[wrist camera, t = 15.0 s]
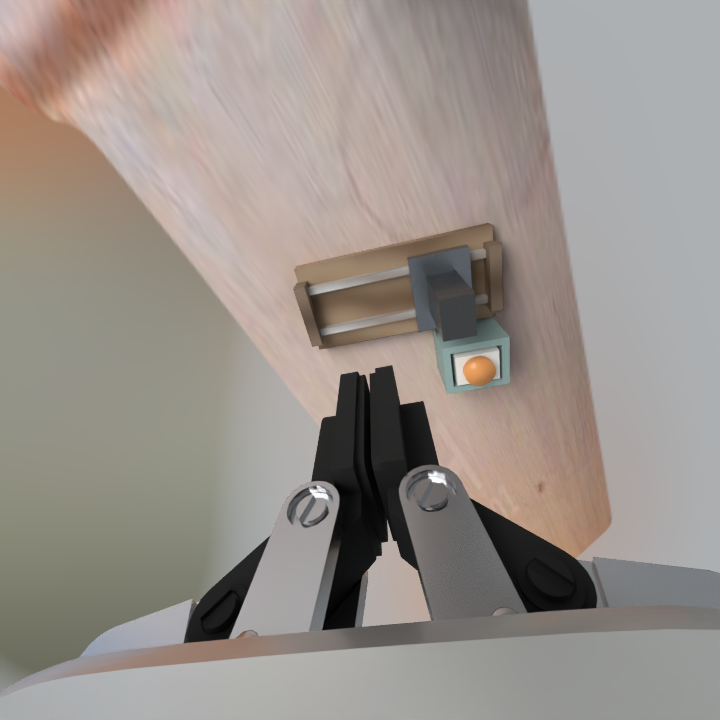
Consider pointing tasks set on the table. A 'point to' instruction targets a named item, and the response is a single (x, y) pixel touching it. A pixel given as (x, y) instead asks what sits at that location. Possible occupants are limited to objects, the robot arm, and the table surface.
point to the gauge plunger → (476, 366)
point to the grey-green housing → (486, 337)
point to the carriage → (444, 292)
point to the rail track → (388, 287)
